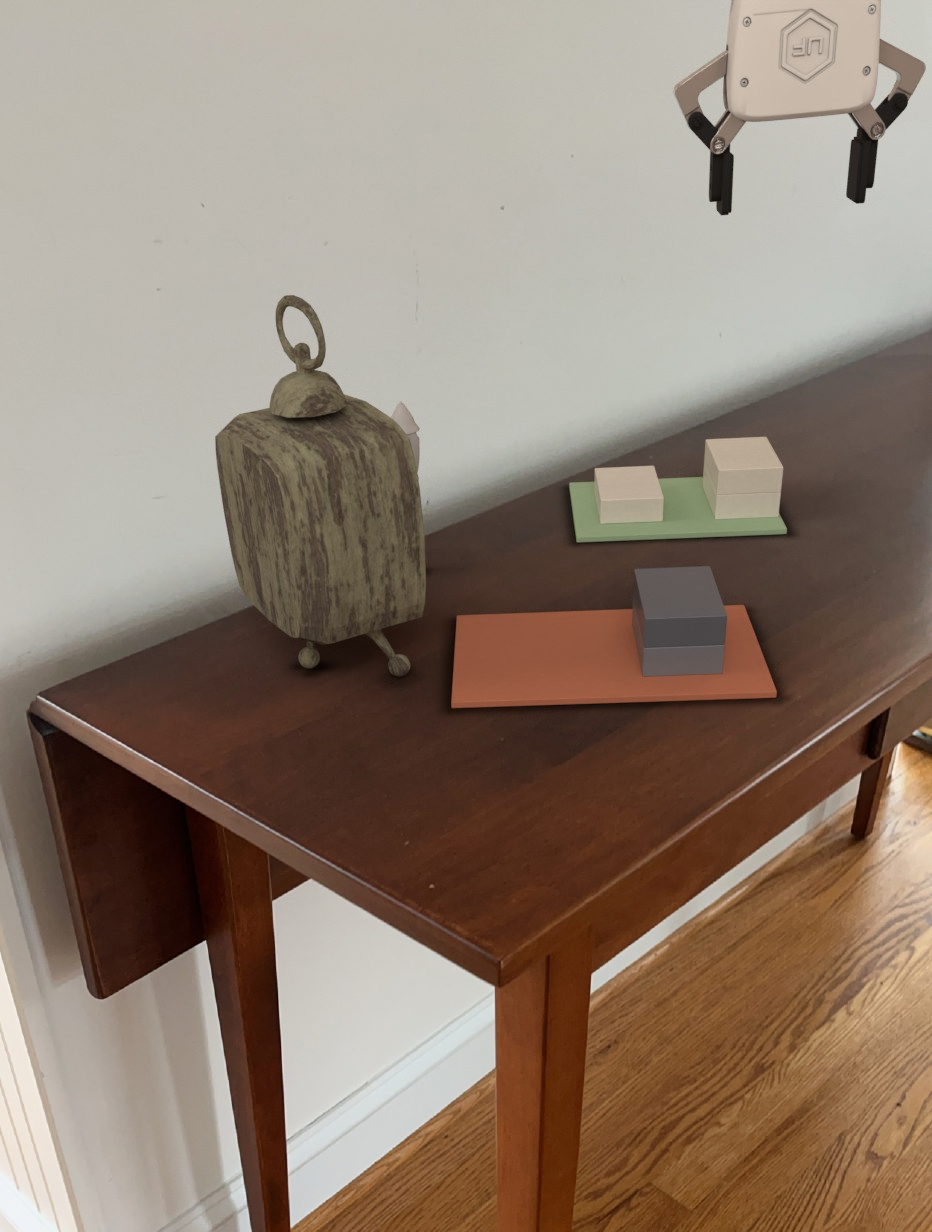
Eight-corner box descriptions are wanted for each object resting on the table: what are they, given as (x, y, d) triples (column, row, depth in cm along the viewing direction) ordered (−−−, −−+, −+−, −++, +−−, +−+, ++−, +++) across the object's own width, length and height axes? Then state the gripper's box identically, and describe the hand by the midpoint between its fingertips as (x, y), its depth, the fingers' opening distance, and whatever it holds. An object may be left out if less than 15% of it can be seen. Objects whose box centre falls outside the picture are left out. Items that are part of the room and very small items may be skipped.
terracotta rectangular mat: (743, 610, 95) (744, 604, 95) (776, 698, 84) (777, 691, 84) (457, 621, 97) (456, 615, 97) (451, 708, 86) (451, 701, 85)
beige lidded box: (762, 483, 116) (766, 436, 113) (778, 517, 109) (783, 466, 106) (702, 486, 116) (705, 438, 114) (715, 519, 109) (718, 469, 107)
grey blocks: (706, 621, 93) (710, 565, 91) (722, 674, 86) (727, 615, 84) (631, 624, 93) (633, 568, 91) (642, 676, 87) (645, 618, 84)
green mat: (759, 479, 118) (759, 474, 118) (786, 534, 107) (787, 528, 107) (569, 487, 120) (569, 482, 119) (576, 542, 108) (576, 537, 108)
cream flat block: (653, 488, 117) (654, 465, 115) (662, 521, 110) (664, 497, 108) (594, 491, 117) (594, 467, 116) (600, 524, 110) (600, 499, 109)
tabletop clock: (434, 680, 89) (408, 304, 74) (320, 716, 86) (269, 330, 71) (345, 611, 99) (307, 269, 85) (240, 641, 96) (182, 291, 81)
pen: (392, 570, 106) (378, 400, 97) (421, 563, 106) (410, 394, 98) (404, 580, 104) (390, 407, 96) (433, 573, 105) (422, 402, 96)
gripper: (683, -69, 81) (677, 225, 91) (959, -99, 79) (921, 203, 89) (671, -67, 87) (666, 209, 97) (927, -94, 85) (895, 188, 95)
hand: (789, 206), depth 93 cm, fingers open, 9 cm apart
